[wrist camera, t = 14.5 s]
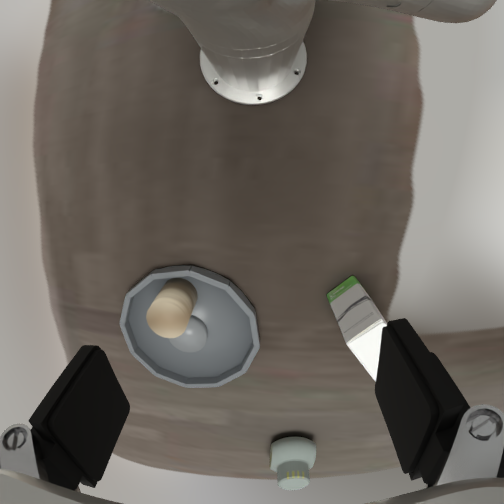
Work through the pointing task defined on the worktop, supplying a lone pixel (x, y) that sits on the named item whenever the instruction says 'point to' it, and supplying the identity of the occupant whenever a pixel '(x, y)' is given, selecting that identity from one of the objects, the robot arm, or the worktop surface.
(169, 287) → the beige cylinder
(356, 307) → the ink box
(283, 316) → the worktop surface
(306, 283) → the worktop surface
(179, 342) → the ring tray
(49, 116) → the worktop surface
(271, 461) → the air freshener
